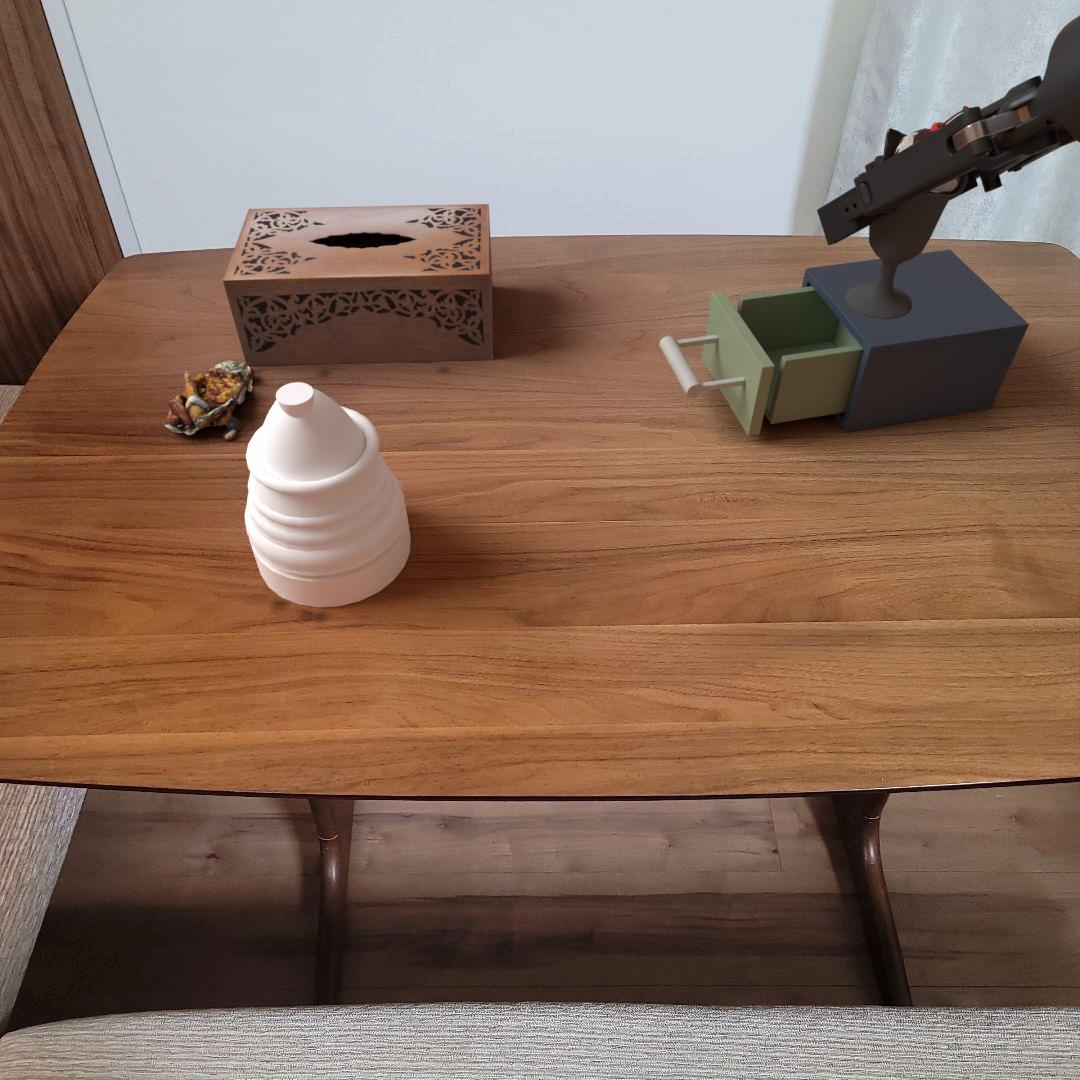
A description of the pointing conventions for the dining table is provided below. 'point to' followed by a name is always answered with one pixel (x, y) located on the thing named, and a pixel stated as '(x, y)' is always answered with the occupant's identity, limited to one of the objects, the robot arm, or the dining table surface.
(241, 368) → the dish of fried food
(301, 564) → the honey pot
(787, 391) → the drawer
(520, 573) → the dining table surface
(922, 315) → the cabinet
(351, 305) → the tissue box cover
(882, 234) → the sundae
